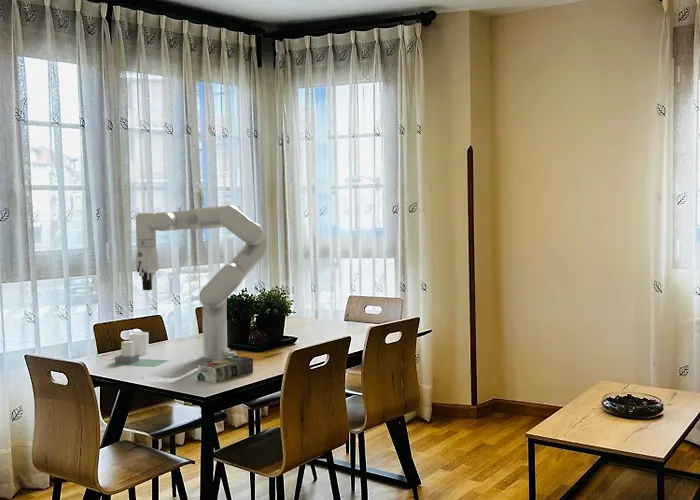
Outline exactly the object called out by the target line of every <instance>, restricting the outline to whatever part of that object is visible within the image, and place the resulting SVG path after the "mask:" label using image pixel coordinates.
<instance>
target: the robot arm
mask: <svg viewBox="0 0 700 500" xmlns="http://www.w3.org/2000/svg"><path fill="white" fill-rule="evenodd" d="M219 228H226V229H227V231H228V230H229V232H231V233H232V234H234V235H235V236H236V237H237V238H238V239H240V240H241V241H243V242H244V243H245V244H244V246H242V247H243V248H241V250H239V251H238V253H237V254H236V255H235V256H234V257H233V259H231V260H230V261H229V262H228V263H226V264H225V265H224V266H223V267H221V268H220V270H218V271H217V273H215V274H214V276H212V278H211V279H210V280H209V281H208V282H207V283H206V284H205V285H204V286H203V287H202V288H201V290H200V292H199V298H198V299H199V302H200V304H201V305H202V349H203V350H202V353H203V359H206V360H208V361H206V363H210V362H214V361H218V360H222V359H226V358H231V357H234V356H237V351H231V350H230V347H228V323H227V322H228V319H227V318H228V317H227V313H228V311H227V310H228V309H227V306H228V302H227V301H228V298H229V297H230V295H232V293H234V291H236V289H238V287H239V286H240V285H241V284H242V282H243V281H244V280H245V278H246V277H247V276H248V274H250V272H251V271H253V269H254V268H255V267H256V266H257V265H258V263H259V262H260V261H261V260H262V259H263V256H264V255H265V253H266V250H267V245H268V240H267V239H268V238H267V236H266V232H265V230H264V228H263V226H262V225H260V224H259V223H256V222H254V221H253V220H251V219H250V218H249V217H247V216H246V214H244V213H243V212H241V210H240V209H239V208H238V207H237V206H235V205H224V206H222V205H221V206H220V205H219V206H210V207H208V206H207V207H197V208H195V209H191V210H180V211H167V212H166V211H163V212H157V213H156V212H155V213H153V212H139V213H137V214H136V215H135V235H136V236H135V239H136V241H135V243H136V245H135V246H136V252H135V254H136V255H135V268H136V272H137V273H138V276H139V277H141V280H142V290H143V291H151V290H153V275H155V274H156V272H158V271H159V268H160V267H159V256H158V255H159V254H158V248H157V236H156V234H157V231H158V232H159V231H160V232H169V231H179V230H207V229H219ZM206 363H205V364H206Z"/></svg>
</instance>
